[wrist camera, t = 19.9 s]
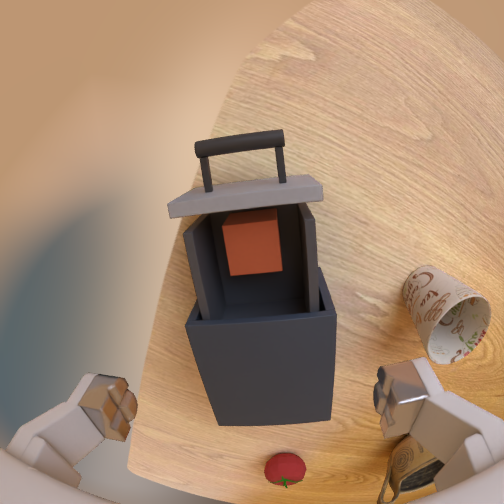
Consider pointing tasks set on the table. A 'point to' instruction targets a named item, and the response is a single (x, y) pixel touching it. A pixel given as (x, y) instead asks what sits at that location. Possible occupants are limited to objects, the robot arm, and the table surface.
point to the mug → (445, 314)
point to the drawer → (242, 200)
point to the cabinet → (268, 364)
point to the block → (253, 242)
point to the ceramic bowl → (409, 469)
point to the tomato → (285, 469)
